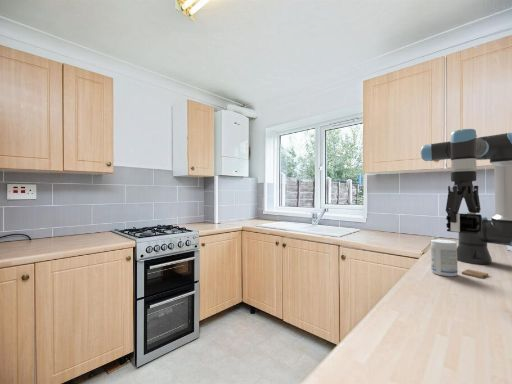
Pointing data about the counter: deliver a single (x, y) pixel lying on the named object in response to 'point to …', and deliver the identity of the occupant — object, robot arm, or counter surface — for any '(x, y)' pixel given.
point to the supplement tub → (444, 257)
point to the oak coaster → (475, 273)
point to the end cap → (467, 223)
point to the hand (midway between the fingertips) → (463, 230)
